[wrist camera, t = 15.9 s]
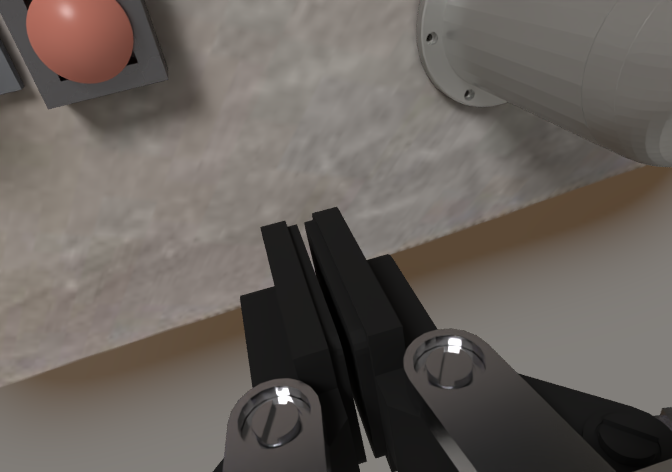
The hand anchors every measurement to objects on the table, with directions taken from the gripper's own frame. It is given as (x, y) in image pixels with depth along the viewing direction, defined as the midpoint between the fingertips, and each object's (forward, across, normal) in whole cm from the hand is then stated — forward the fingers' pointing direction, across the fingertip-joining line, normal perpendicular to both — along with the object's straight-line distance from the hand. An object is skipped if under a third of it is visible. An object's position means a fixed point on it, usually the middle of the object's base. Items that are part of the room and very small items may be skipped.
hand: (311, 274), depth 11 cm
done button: (+25, +8, -3) cm, 27 cm away
